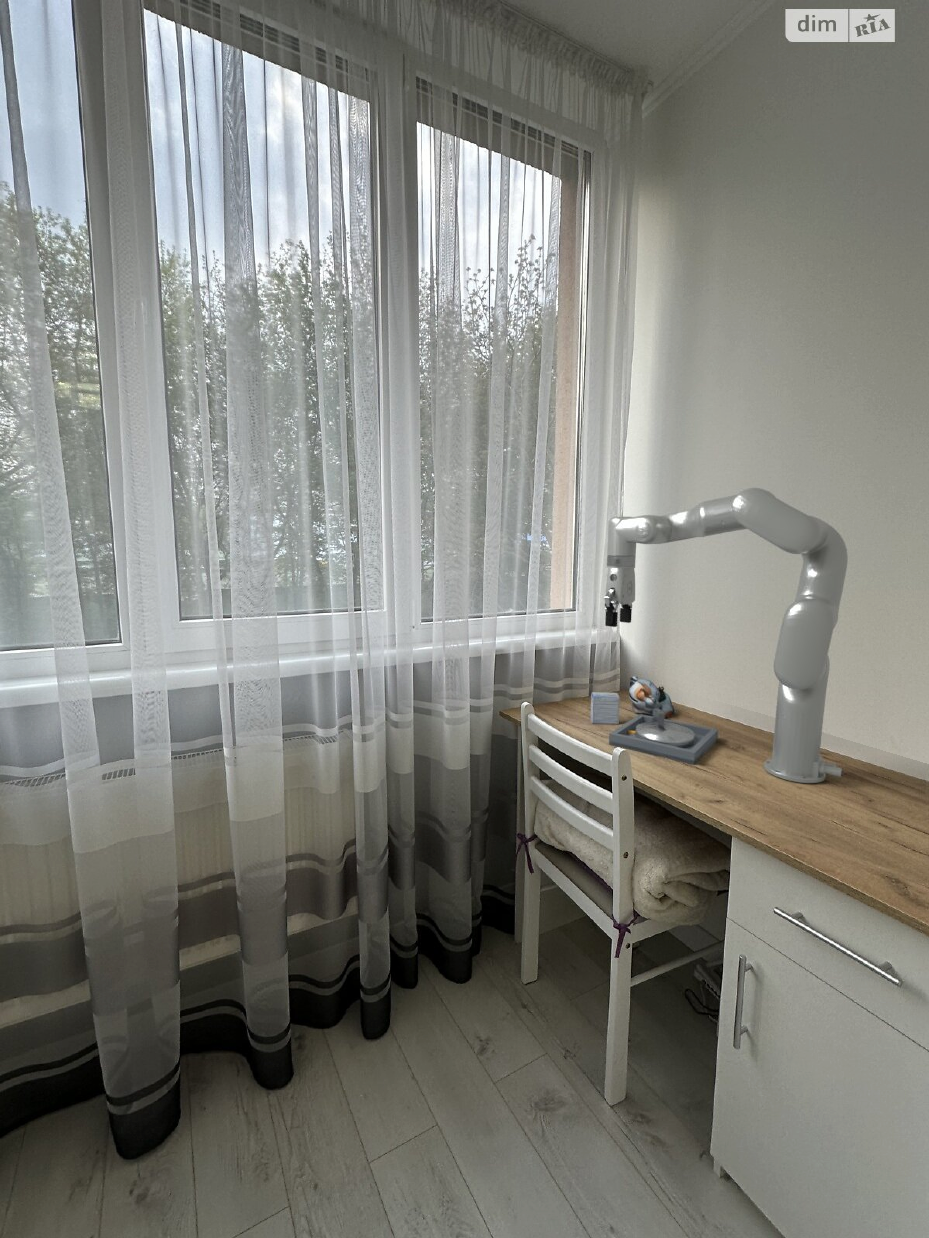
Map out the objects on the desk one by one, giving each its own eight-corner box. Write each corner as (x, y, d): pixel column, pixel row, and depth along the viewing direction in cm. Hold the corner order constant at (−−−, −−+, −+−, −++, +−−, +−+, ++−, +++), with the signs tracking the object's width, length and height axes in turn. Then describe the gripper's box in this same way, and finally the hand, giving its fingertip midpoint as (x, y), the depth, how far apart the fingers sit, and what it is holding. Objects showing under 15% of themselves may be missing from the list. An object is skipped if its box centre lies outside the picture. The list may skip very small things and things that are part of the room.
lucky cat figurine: (682, 718, 173) (672, 683, 167) (645, 733, 174) (634, 698, 168) (662, 692, 186) (652, 659, 180) (628, 706, 187) (617, 673, 181)
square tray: (717, 739, 155) (718, 729, 154) (693, 764, 138) (694, 753, 137) (639, 723, 168) (640, 714, 168) (608, 744, 151) (609, 733, 151)
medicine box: (616, 720, 172) (617, 692, 170) (618, 724, 167) (620, 696, 166) (590, 719, 172) (591, 691, 171) (591, 723, 168) (592, 695, 167)
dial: (703, 747, 145) (705, 725, 145) (646, 747, 145) (647, 725, 144) (680, 728, 160) (681, 707, 159) (628, 728, 160) (629, 708, 159)
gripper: (621, 563, 145) (618, 629, 147) (646, 562, 158) (643, 622, 161) (594, 563, 149) (592, 626, 152) (620, 561, 163) (618, 619, 165)
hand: (618, 624), depth 156 cm, fingers open, 9 cm apart
